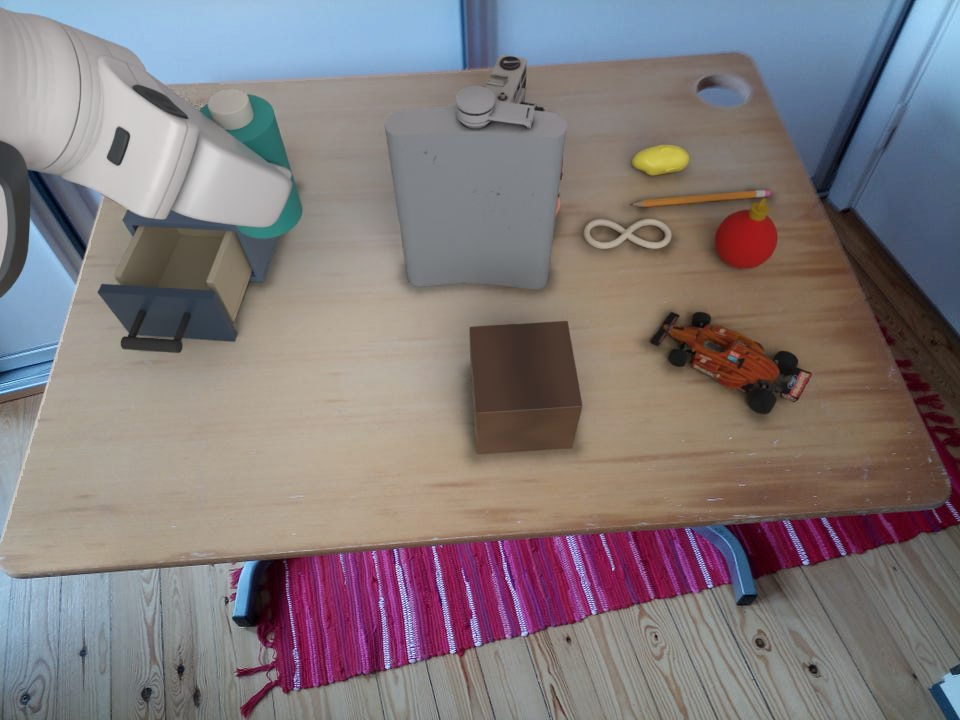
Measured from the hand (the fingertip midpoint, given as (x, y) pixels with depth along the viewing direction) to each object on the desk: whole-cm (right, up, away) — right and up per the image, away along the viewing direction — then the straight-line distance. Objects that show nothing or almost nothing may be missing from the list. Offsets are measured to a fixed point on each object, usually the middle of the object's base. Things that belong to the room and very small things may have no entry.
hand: (255, 156), depth 54 cm
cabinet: (-14, 0, +33) cm, 36 cm away
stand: (+23, -22, +18) cm, 36 cm away
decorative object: (+37, -1, +32) cm, 49 cm away
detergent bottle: (0, -4, +5) cm, 6 cm away
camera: (+23, +14, +42) cm, 50 cm away
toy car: (+46, -17, +21) cm, 54 cm away
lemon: (+43, +10, +39) cm, 59 cm away
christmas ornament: (+51, -4, +30) cm, 59 cm away
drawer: (-15, -10, +25) cm, 31 cm away
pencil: (+48, +5, +35) cm, 59 cm away
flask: (+18, -6, +29) cm, 34 cm away
